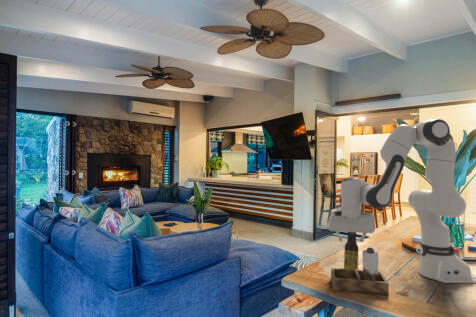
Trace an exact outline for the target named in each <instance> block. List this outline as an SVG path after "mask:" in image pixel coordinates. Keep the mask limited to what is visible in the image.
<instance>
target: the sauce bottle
mask: <svg viewBox="0 0 476 317" xmlns="http://www.w3.org/2000/svg"><path fill="white" fill-rule="evenodd" d="M346 233H347V234H346V235H347V239H346V240H347V241H346V242H345V244H344V250H343V254H344V255H343V256H344V257H343V269H353V270H359V245H358V244H357V233H358V232H346Z"/></svg>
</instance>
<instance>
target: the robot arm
mask: <svg viewBox="0 0 476 317" xmlns="http://www.w3.org/2000/svg"><path fill="white" fill-rule="evenodd" d="M450 138H451V130H450V126H449V124H448V123H447V122H446V121H445V120H444V119H439V118H432V119H427V120H423V121H420V122H419V123H414V124H412V125H410V124H409V125H408V124H399V125H397V126H396V127H395V128H394V129H393V130H392V131H391V133H390V135H389V136H388V137H387V139H386V140H385V142H384V143H383V145H382V147H381V150H380V156H381V159H382V161H384V163H385V170H384V171H383V174H382V176H381V178H380V179H379V181H378V183H376V184H371V183H368V182H366V181H365V180H362V179H361V178H359V177H357V176H349V177H345V178H343V179H342V181H341V185H340V199H341V201H340V202H341V203H340V207H336V208H332V209H331V210H330V216H329V217H328V223H327V225H328V227H327V228H328V230H329V231H330V232H335V233H336V235H337V237H338V242H343V237H342V236H341V235H340V232H341V233H343V232H345V233H347V232H356V233H362V236H359V242H360V243H364V241H365V238H366V236H367V234H374V232H375V224H374V222H375V220H376V218H375V214H374V213H372V212H369V211H368V212H365V211H362V204H365V205H367V206H370V207H371V208H374V209H376V210H384V209H385V208H387V207H389V206H390V204H391V202H392V199H393V194H394V190H395V187H396V185H397V183H398V181H399V178H400V176H401V175H402V172H403V170H404V167H405V163H406V162H405V161H406V158H407V157H408V155H409V153H410V151H411V150H412V148H413V146H426V149H427V156H426V163H425V169H424V176H425V178H426V180H428V181H429V183H430V184H431V185H430V186H431V189H424V188H423V189H416V190H413V191H411V192H410V193H409V195H408V197H407V198H408V201H407V202H408V204H409V207H411V208H412V209H413V210H414V212H415V213H416V216H417V218H418V222H419V224H420V234H421V235H420V236H421V238H420V240H421V242H420V243H419V244H420V245H419V253H420V260H419V265H418V269H417V273H418V274H419V275H421V276H423V277H425V278H428V279H431V280H435V281H438V282H440V283H444V284H476V276H475V274H473V273H472V271H471V267H470V265H469V263H467V262H466V261H464V260H462V258H460V257H459V256H458V255H456V254H459V253H460V249H458V248H457V247H454V246H452V245H451V237H450V236H451V234H450V233H451V230H450V228H449V226H448V225H447V224H446V223H445V222H444V221H443V219H442V217H445V218H459V217H461V216H462V215H463V214H464V213H465V211H466V209H467V204H466V200H465V199H464V198H463V196H461V194H460V193H459V192H458V190H457V188H456V185H455V181H454V180H455V165H456V157H457V155H456V154H457V151H456V143H455V142H454V141H453V139H450Z"/></svg>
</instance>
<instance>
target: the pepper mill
mask: <svg viewBox="0 0 476 317" xmlns="http://www.w3.org/2000/svg"><path fill="white" fill-rule="evenodd" d="M362 270H363V280H369V281H378V271H379V252H378V251H376V250H375V249H374V248H373V247H370V246H369V247H367V248H366V249H364V250H362Z"/></svg>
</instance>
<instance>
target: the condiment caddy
mask: <svg viewBox="0 0 476 317" xmlns="http://www.w3.org/2000/svg"><path fill="white" fill-rule="evenodd" d="M330 280H331V285H332V291H334V292H345V293H357V294H367V295H379V296H390V295H389V282H388V280H387V279H386V277H385V275H384V273H383V272H382V271H379V270H378V281H369V280H363V269H358V270H353V269H344V268H337V267H336V268H335V267H330Z"/></svg>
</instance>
